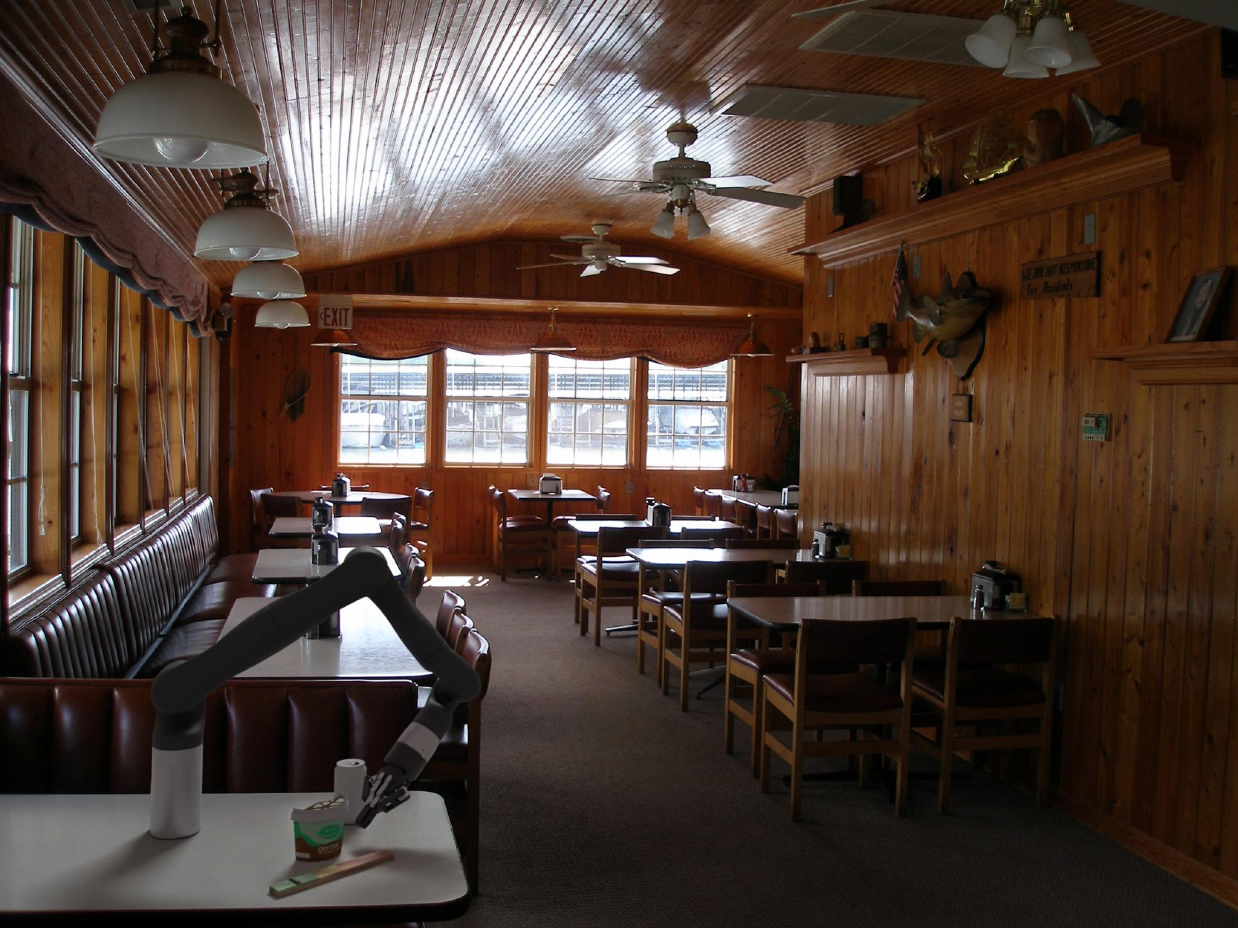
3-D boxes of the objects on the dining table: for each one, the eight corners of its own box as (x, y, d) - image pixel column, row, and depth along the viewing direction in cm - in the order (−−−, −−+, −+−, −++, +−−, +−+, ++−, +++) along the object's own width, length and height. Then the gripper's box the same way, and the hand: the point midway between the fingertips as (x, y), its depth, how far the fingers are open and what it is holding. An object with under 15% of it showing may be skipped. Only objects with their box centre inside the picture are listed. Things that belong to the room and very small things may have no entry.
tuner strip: (269, 891, 184) (269, 883, 184) (384, 854, 202) (384, 846, 202) (278, 896, 182) (278, 888, 182) (393, 859, 200) (393, 851, 200)
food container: (312, 870, 194) (314, 815, 194) (289, 862, 197) (290, 808, 197) (362, 849, 204) (363, 797, 204) (339, 842, 208) (340, 791, 207)
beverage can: (356, 826, 216) (358, 768, 216) (327, 823, 217) (329, 765, 217) (370, 816, 222) (372, 759, 222) (341, 813, 224) (343, 756, 223)
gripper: (382, 733, 218) (328, 806, 209) (423, 747, 209) (368, 824, 200) (402, 754, 222) (350, 827, 213) (443, 768, 213) (391, 845, 204)
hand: (359, 825), depth 206 cm, fingers closed
